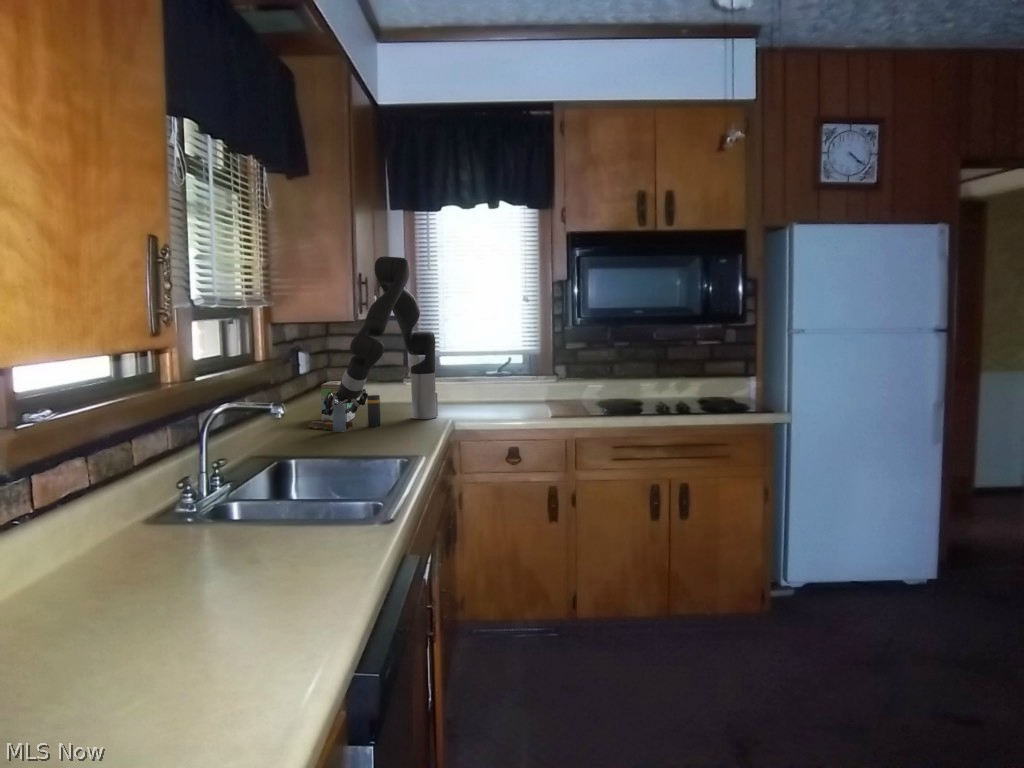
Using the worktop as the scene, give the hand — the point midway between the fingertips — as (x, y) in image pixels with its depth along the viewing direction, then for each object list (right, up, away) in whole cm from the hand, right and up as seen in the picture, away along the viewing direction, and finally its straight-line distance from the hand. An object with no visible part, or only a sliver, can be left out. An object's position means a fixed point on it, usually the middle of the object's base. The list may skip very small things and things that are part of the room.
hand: (340, 412), depth 280 cm
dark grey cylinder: (+9, -5, +13) cm, 17 cm away
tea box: (-7, -4, +30) cm, 31 cm away
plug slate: (-1, -7, +2) cm, 7 cm away
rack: (-5, -6, +11) cm, 13 cm away
